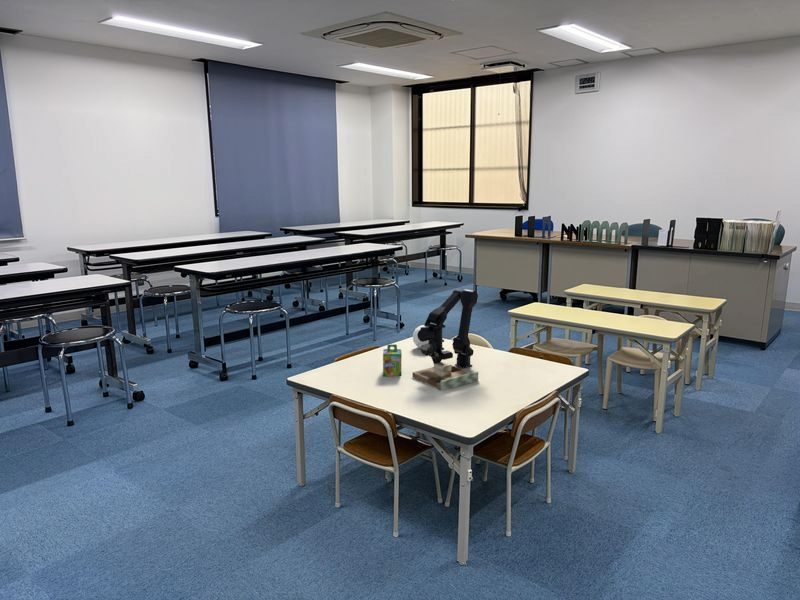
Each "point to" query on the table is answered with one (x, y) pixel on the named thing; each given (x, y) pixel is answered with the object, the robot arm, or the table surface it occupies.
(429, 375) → the board
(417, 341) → the geodesic sphere
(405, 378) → the table surface
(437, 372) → the block
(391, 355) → the chalk box
